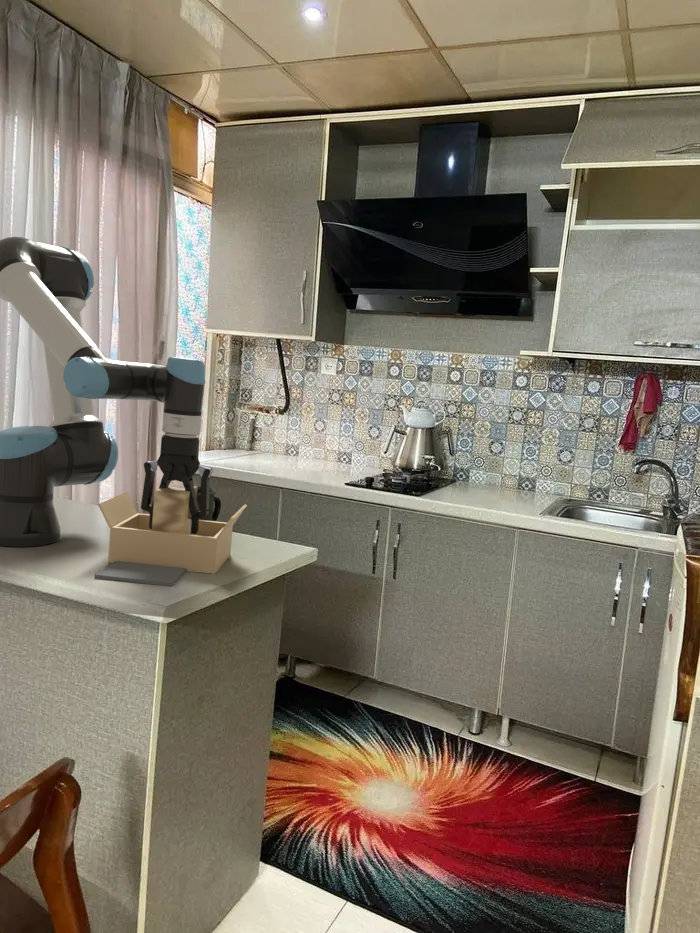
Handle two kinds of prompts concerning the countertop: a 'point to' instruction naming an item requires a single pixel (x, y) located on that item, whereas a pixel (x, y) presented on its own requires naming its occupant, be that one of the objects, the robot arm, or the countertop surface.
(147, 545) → the carton
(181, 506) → the block
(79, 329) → the robot arm
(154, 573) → the mat
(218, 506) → the mug
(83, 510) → the countertop surface
